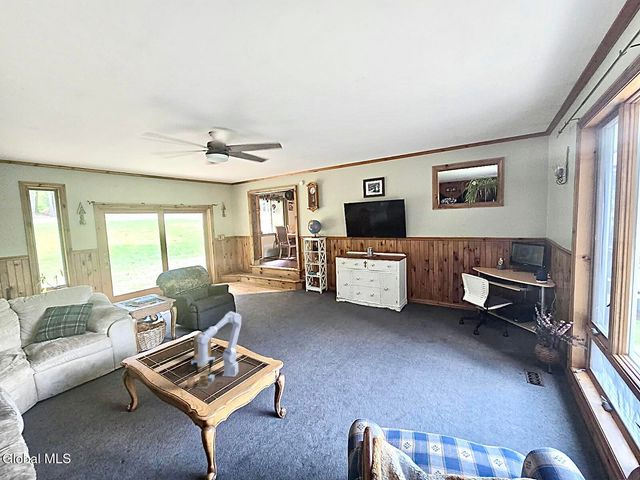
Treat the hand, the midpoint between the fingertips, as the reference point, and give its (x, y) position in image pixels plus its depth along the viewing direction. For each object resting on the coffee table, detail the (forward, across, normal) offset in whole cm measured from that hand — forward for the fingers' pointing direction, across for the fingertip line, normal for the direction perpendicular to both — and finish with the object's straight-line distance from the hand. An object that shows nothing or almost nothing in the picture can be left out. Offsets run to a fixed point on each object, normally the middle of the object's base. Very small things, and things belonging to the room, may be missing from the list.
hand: (203, 372), depth 187 cm
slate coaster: (+9, 0, 0) cm, 9 cm away
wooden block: (+9, +3, -41) cm, 42 cm away
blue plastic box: (+9, -4, -5) cm, 11 cm away
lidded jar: (+9, +2, -30) cm, 31 cm away
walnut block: (+8, 0, 0) cm, 8 cm away
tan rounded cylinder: (+9, +8, -2) cm, 12 cm away
